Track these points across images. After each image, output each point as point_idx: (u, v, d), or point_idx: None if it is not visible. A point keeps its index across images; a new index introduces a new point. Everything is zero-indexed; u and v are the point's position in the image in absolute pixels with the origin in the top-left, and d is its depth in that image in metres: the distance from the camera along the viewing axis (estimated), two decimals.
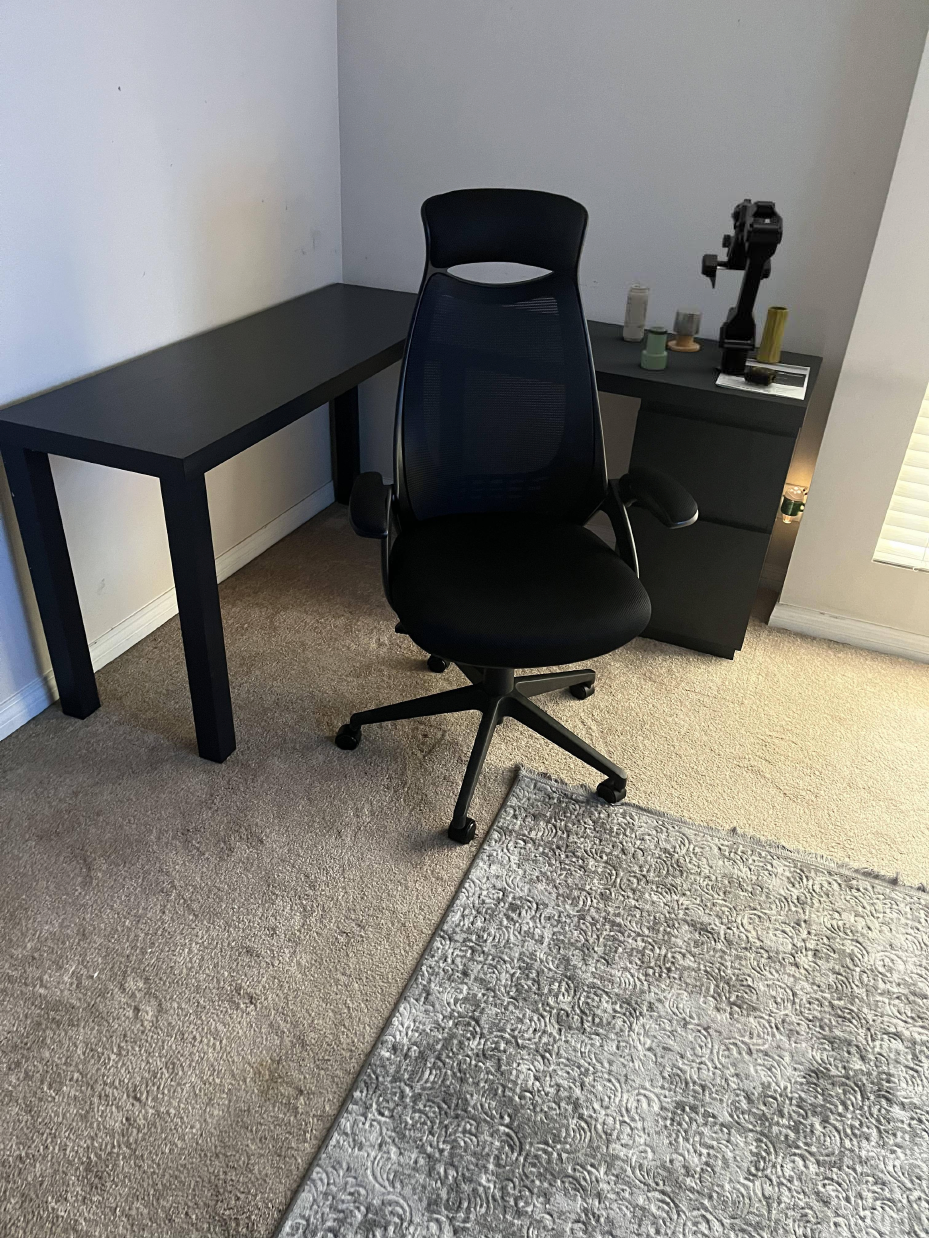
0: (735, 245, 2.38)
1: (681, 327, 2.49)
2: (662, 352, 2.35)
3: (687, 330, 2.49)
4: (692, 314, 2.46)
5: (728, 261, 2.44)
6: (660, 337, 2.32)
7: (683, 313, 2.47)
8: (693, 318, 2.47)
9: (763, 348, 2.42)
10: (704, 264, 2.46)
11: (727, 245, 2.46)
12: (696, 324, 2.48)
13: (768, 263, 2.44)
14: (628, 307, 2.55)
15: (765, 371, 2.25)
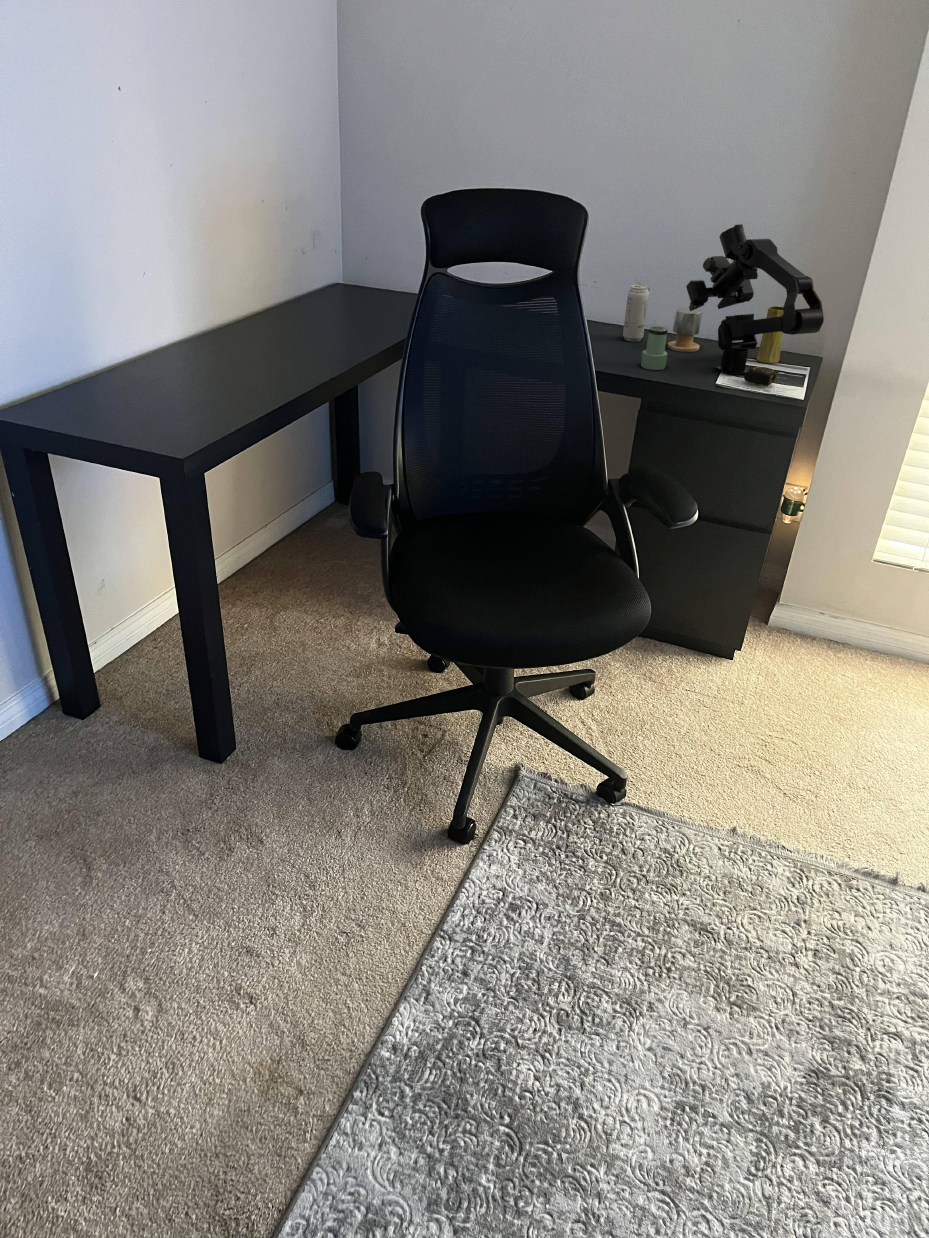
0: (734, 278, 2.26)
1: (681, 327, 2.49)
2: (662, 352, 2.35)
3: (687, 330, 2.49)
4: (692, 314, 2.46)
5: (717, 289, 2.32)
6: (660, 337, 2.32)
7: (683, 313, 2.47)
8: (693, 318, 2.47)
9: (763, 348, 2.42)
10: (696, 295, 2.30)
11: (713, 270, 2.31)
12: (696, 324, 2.48)
13: (750, 286, 2.36)
14: (628, 307, 2.55)
15: (765, 371, 2.25)
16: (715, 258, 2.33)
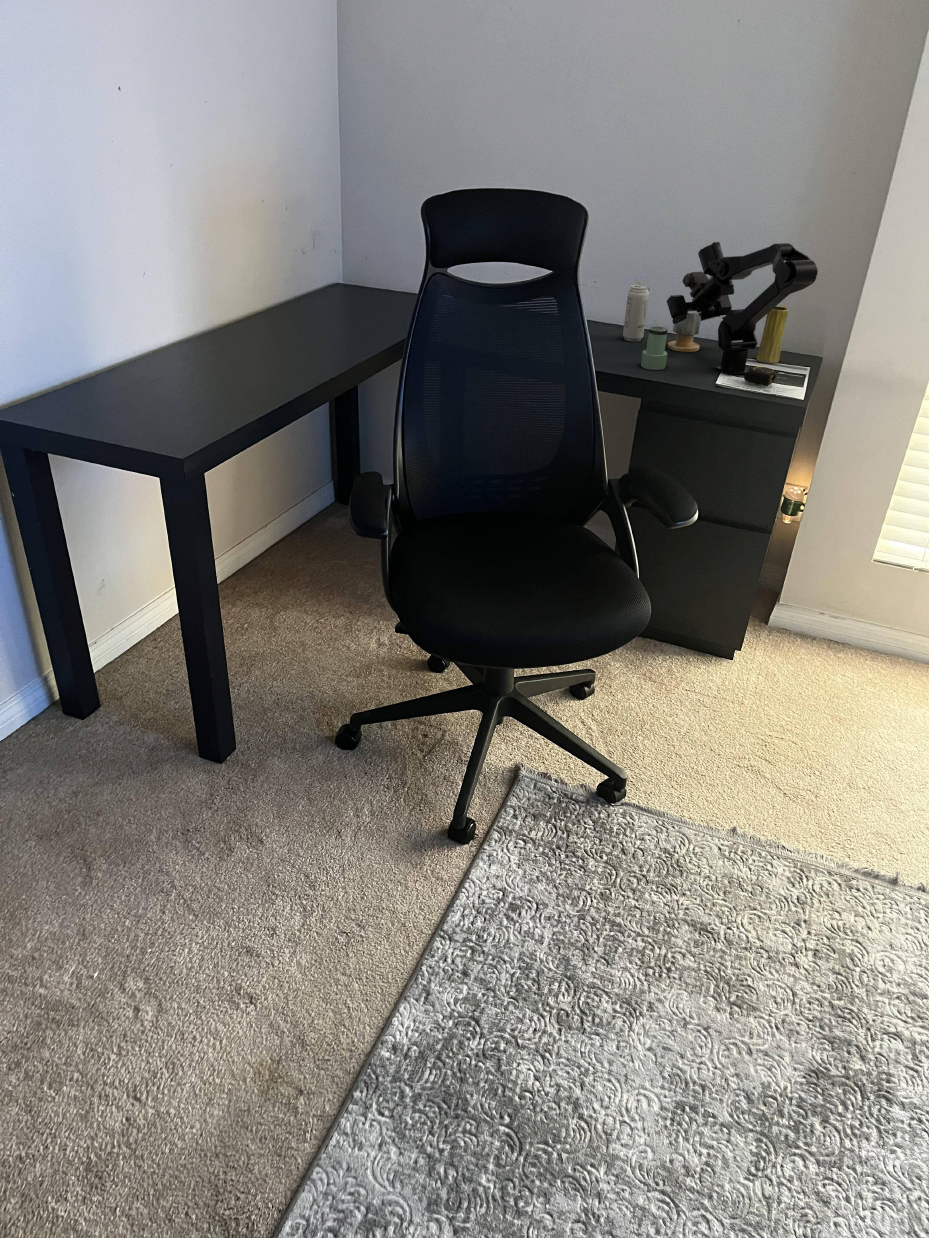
0: (712, 293, 2.35)
1: (681, 327, 2.49)
2: (662, 352, 2.35)
3: (687, 330, 2.49)
4: (692, 314, 2.46)
5: (696, 304, 2.41)
6: (660, 337, 2.32)
7: None
8: (693, 318, 2.47)
9: (763, 348, 2.42)
10: (676, 309, 2.40)
11: (692, 285, 2.41)
12: (696, 324, 2.48)
13: (728, 300, 2.45)
14: (628, 307, 2.55)
15: (765, 371, 2.25)
16: (694, 274, 2.43)
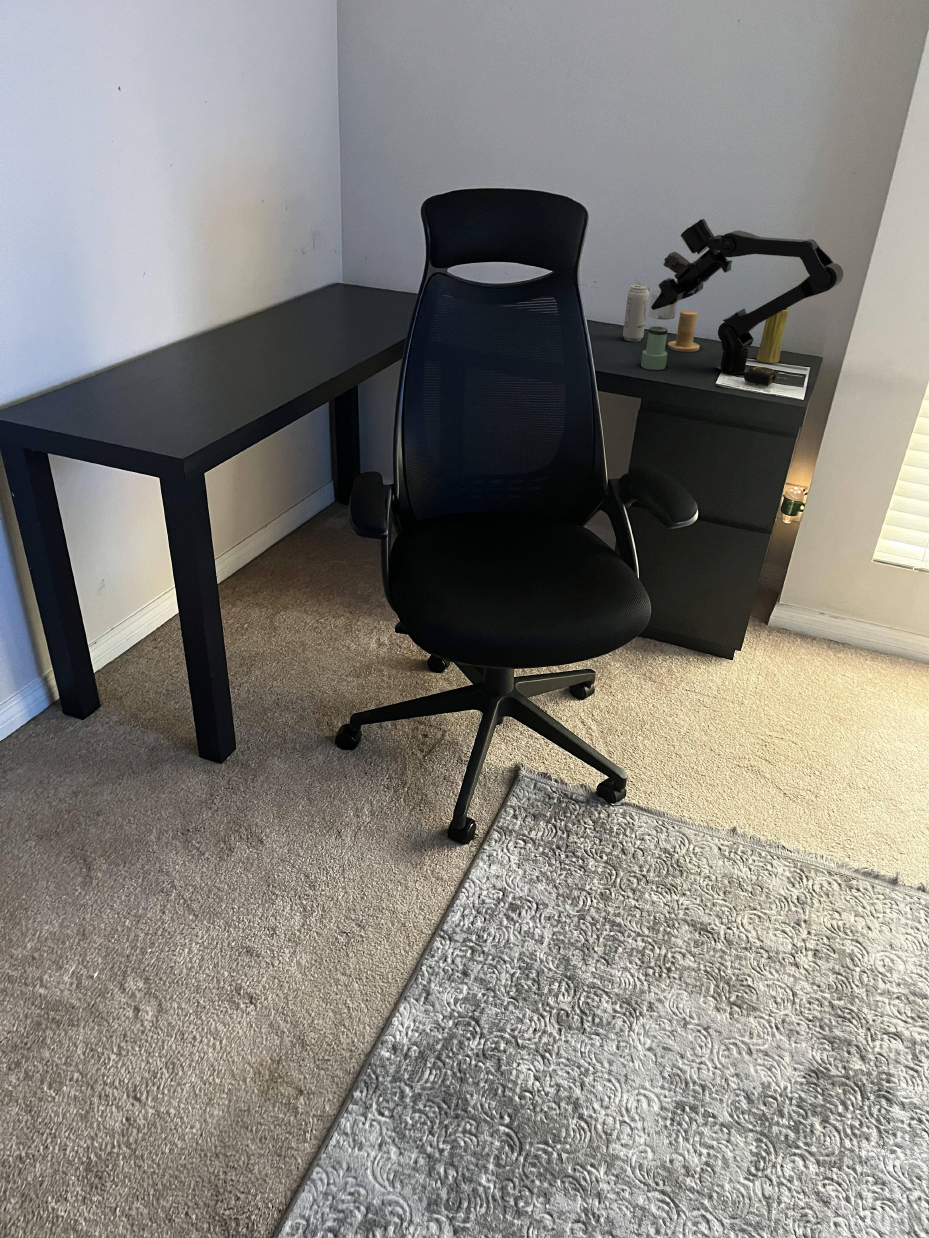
0: (708, 272, 2.26)
1: (664, 312, 2.37)
2: (662, 352, 2.35)
3: (670, 314, 2.37)
4: None
5: (686, 285, 2.31)
6: (660, 337, 2.32)
7: None
8: None
9: (763, 348, 2.42)
10: (675, 293, 2.27)
11: (678, 267, 2.29)
12: None
13: None
14: (628, 307, 2.55)
15: (765, 371, 2.25)
16: (673, 255, 2.31)
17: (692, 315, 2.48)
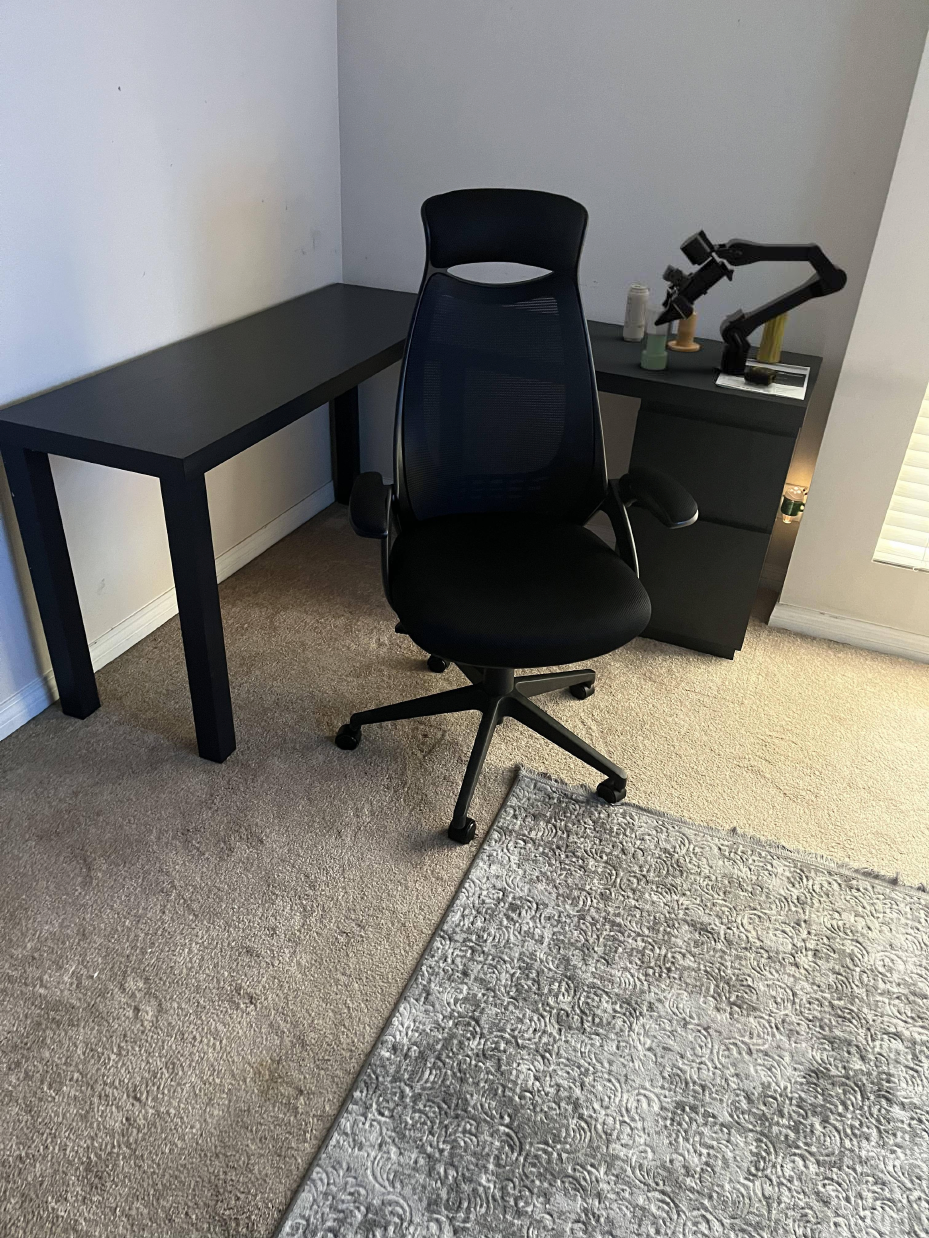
0: (714, 282, 2.23)
1: (667, 327, 2.29)
2: (662, 352, 2.35)
3: (671, 328, 2.31)
4: None
5: (691, 298, 2.25)
6: (660, 337, 2.32)
7: None
8: None
9: (763, 348, 2.42)
10: (691, 308, 2.21)
11: (682, 280, 2.23)
12: None
13: None
14: (628, 307, 2.55)
15: (765, 371, 2.25)
16: (672, 268, 2.24)
17: (692, 315, 2.48)
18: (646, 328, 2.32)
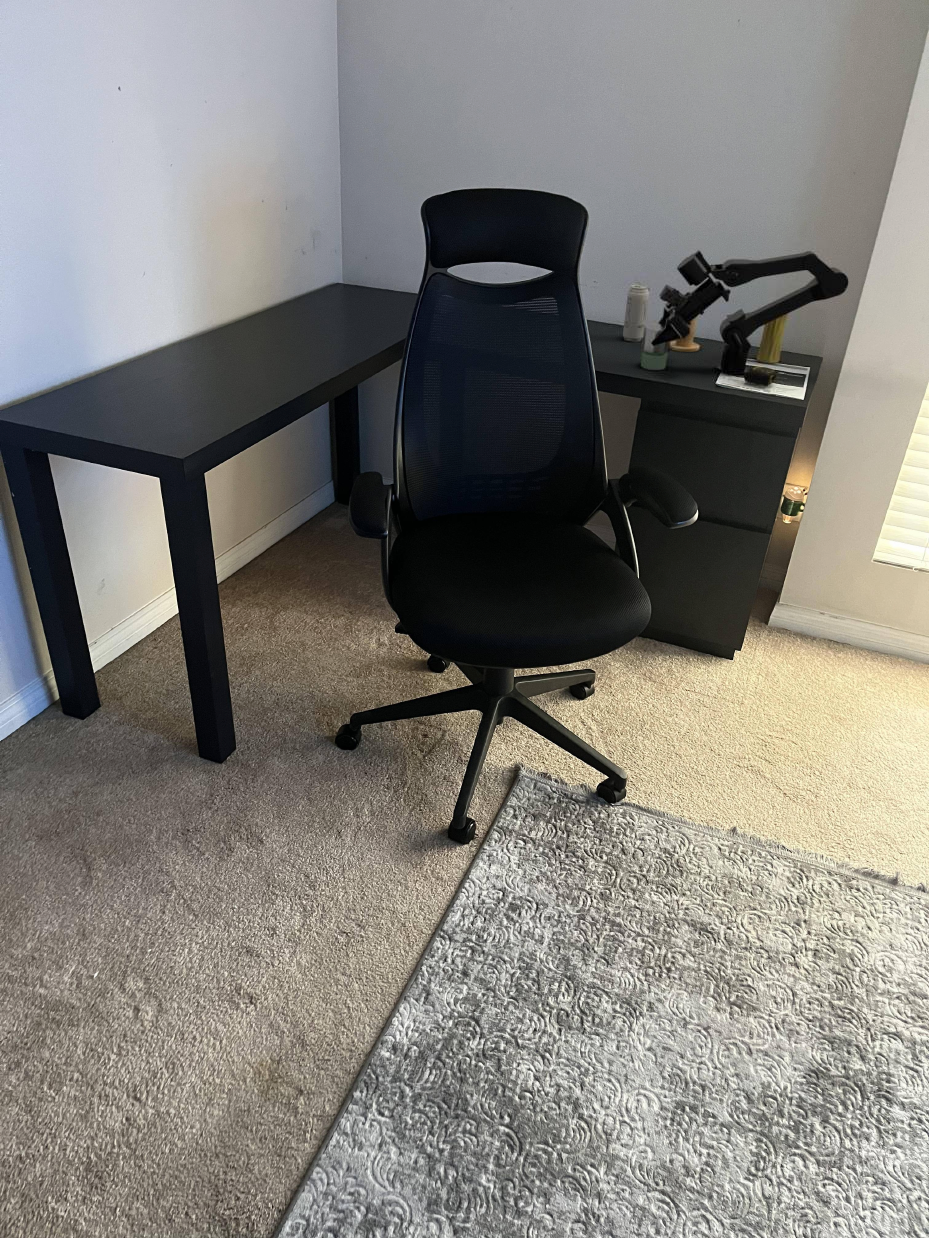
0: (710, 302, 2.26)
1: (664, 346, 2.32)
2: None
3: (668, 347, 2.33)
4: None
5: (688, 317, 2.28)
6: None
7: None
8: None
9: (763, 348, 2.42)
10: (688, 328, 2.23)
11: (679, 300, 2.25)
12: None
13: None
14: (628, 307, 2.55)
15: (765, 371, 2.25)
16: (669, 288, 2.26)
17: None
18: (643, 347, 2.34)
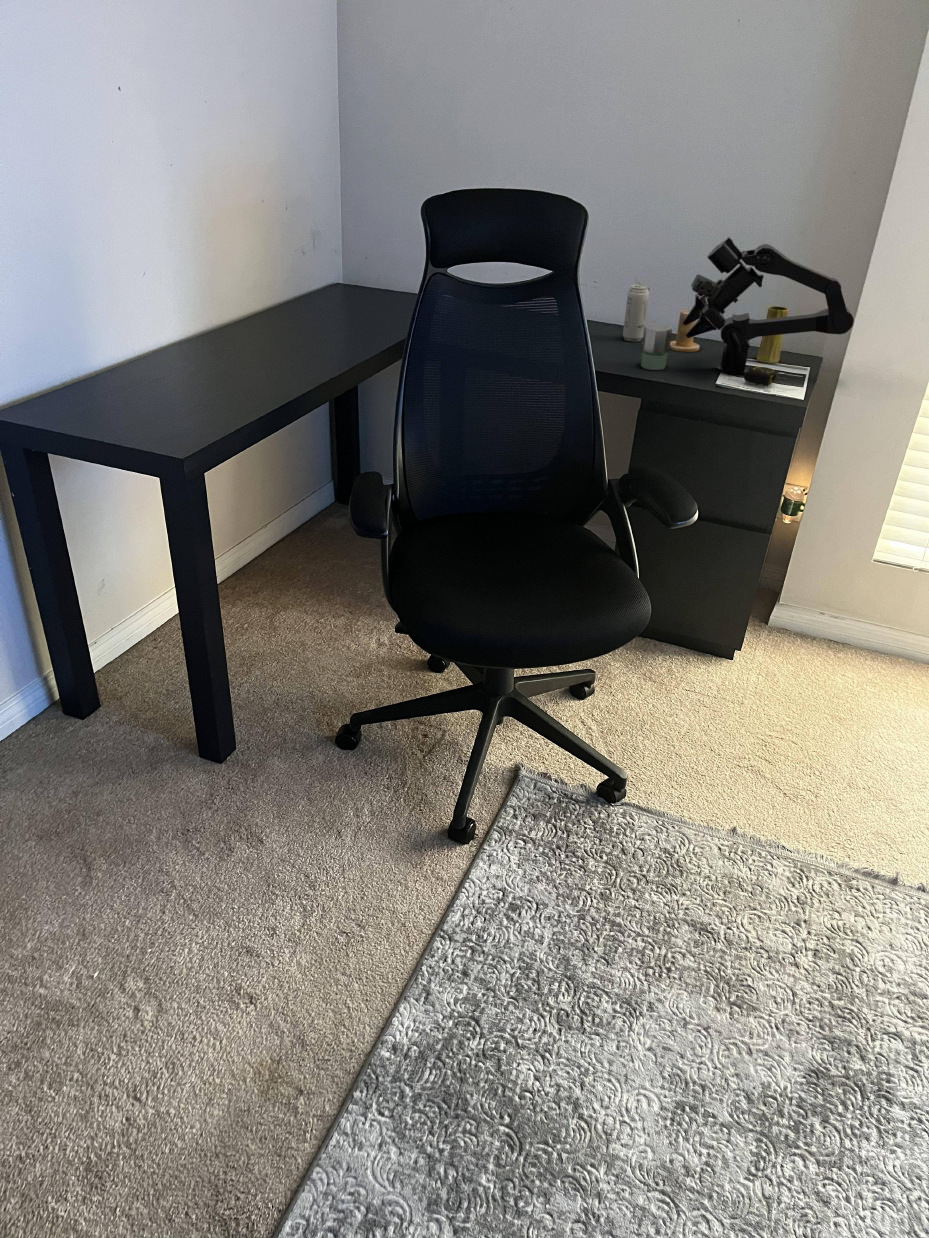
0: (743, 289, 2.23)
1: (664, 346, 2.32)
2: None
3: (668, 347, 2.33)
4: (671, 329, 2.31)
5: (721, 306, 2.26)
6: None
7: (665, 331, 2.30)
8: (671, 333, 2.32)
9: (763, 348, 2.42)
10: (723, 319, 2.22)
11: (712, 290, 2.23)
12: None
13: None
14: (628, 307, 2.55)
15: (765, 371, 2.25)
16: (701, 279, 2.24)
17: None
18: (643, 347, 2.34)
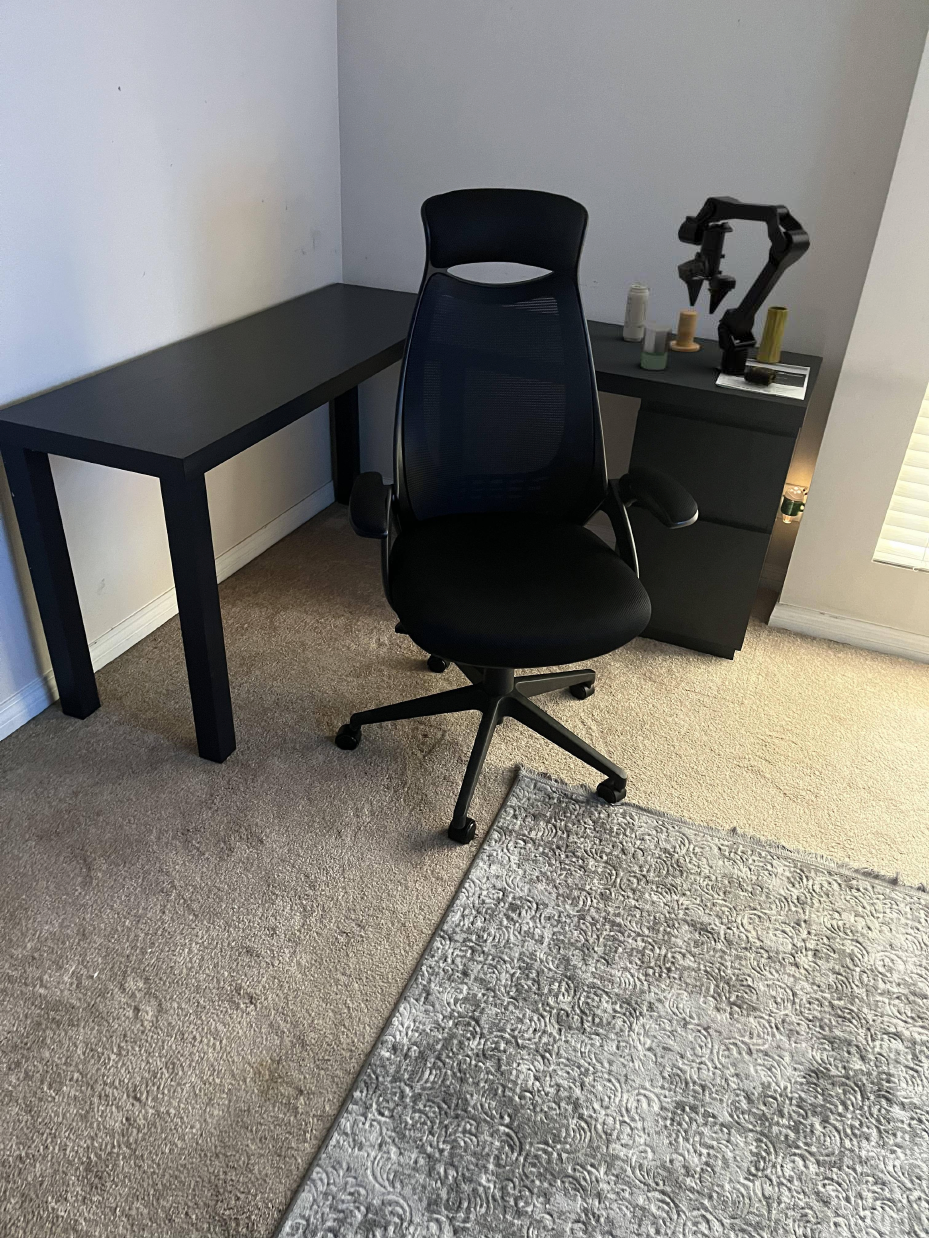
0: (712, 244, 2.28)
1: (664, 346, 2.32)
2: None
3: (668, 347, 2.33)
4: (671, 329, 2.31)
5: (717, 270, 2.32)
6: None
7: (665, 331, 2.30)
8: (671, 333, 2.32)
9: (763, 348, 2.42)
10: (732, 278, 2.27)
11: (702, 267, 2.29)
12: None
13: None
14: (628, 307, 2.55)
15: (765, 371, 2.25)
16: (686, 267, 2.30)
17: (692, 315, 2.48)
18: (643, 347, 2.34)
